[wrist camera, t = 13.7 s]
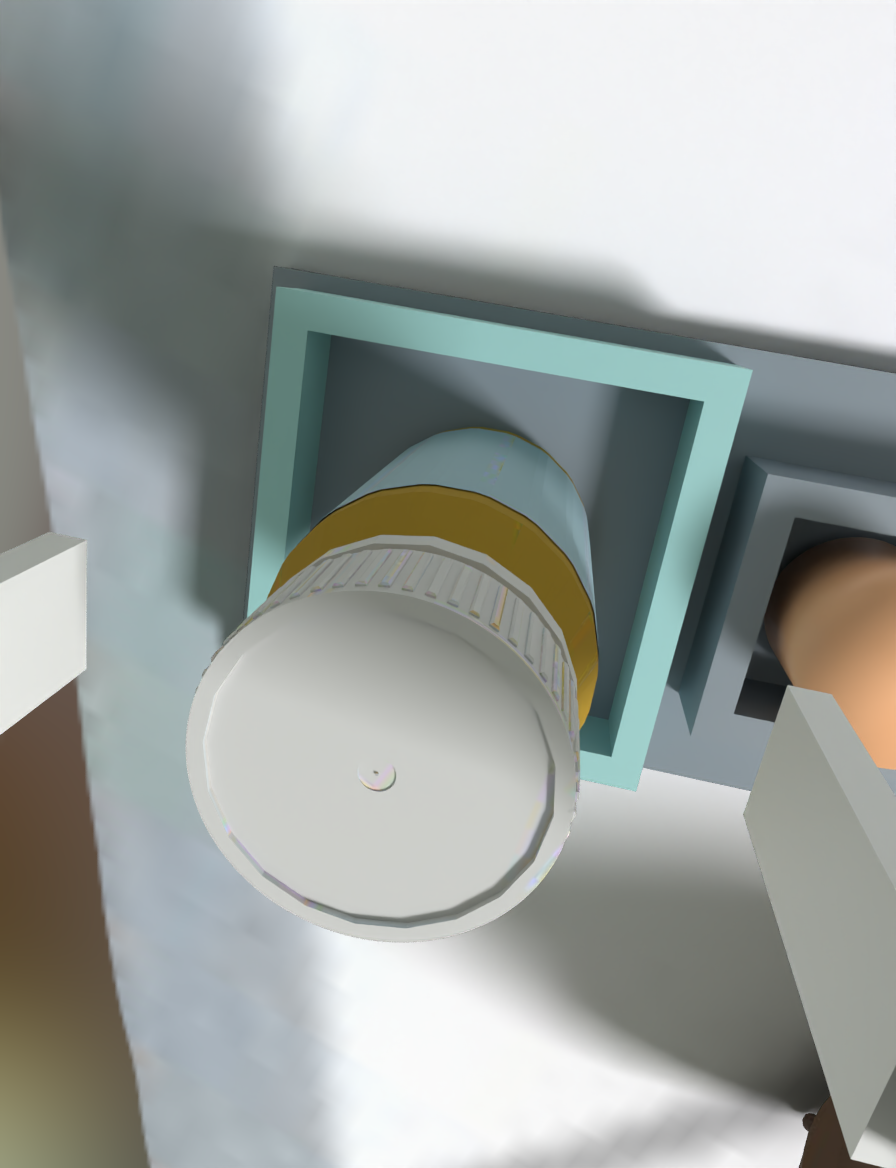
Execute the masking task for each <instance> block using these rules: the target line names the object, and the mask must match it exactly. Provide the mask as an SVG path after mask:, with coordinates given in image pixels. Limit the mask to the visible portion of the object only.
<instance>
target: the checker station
mask: <svg viewBox="0 0 896 1168" xmlns="http://www.w3.org/2000/svg"><path fill="white" fill-rule="evenodd" d="M467 427H485V428H491V429H497V430H503V431H508V432H511V433H514V434H517V435H519V436H521V437H523V438H524V439H526V440H528V441H530V442H532V443H534V444H536V445H538V446H539V447H541V448H542V449H544V450H545V451H546V452H548V453H549V454H550V455H551V456H552V457H553V458H554V459H555V460H556V461H557V463H558V464H559V465H560V466H561V467H562V468H563V469H564V470H565V471H566V472H567V473H568V475H569V476H570V478H571V479H572V481H573V483H574V485H575V487H576V489H577V492H578V494H579V496H580V498H581V500H582V502H583V505H584V508H585V512H586V516H587V522H588V531H589V539H590V550H591V562H592V574H593V586H594V598H595V610H596V622H597V634H598V646H599V657H598V676H597V680H596V685H595V689H594V693H593V697H592V702H591V706H590V710H589V713H588V715H587V718H586V720H585V722H584V724H583V726H582V727H581V729H580V730H579V735H580V779H582V780H586V781H591V782H595V783H600V784H605V785H609V786H614V787H618V788H623V789H627V790H632V791H636V790H637V786H638V782H639V779H640V775H641V772H642V768H647V769H652V770H656V771H661V772H666V773H670V774H675V775H679V776H684V777H689V778H693V779H698V780H702V781H707V782H712V783H716V784H721V785H725V786H730V787H735V788H739V789H744V790H748V791H752V788H753V785H754V782H755V779H756V776H757V773H758V770H759V767H760V764H761V761H762V758H763V755H764V753H765V750H766V747H767V744H768V741H769V738H770V735H771V732H772V729H773V726H774V723H775V720H776V717H777V714H778V711H779V709H780V706H781V703H782V700H783V697H784V694H785V691H786V688H787V685H790V686H793V684H792V682H791V681H790V679H789V677H788V676H787V674H786V672H785V671H784V669H783V667H782V665H781V664H780V662H779V660H778V659H777V657H776V655H775V654H774V652H773V650H772V648H771V646H770V644H769V642H768V639H767V636H766V631H765V626H764V615H765V612H766V609H767V605H768V602H769V599H770V596H771V593H772V589H773V586H774V583H775V580H776V579H777V577H778V576H779V575H780V573H781V572H782V571H783V570H784V568H785V567H786V566H787V565H788V564H789V563H790V562H792V561H793V560H794V559H795V558H796V557H798V556H799V555H800V554H802V553H804V552H805V551H807V550H808V549H810V548H812V547H814V546H817V545H819V544H822V543H824V542H827V541H831V540H835V539H839V538H848V537H864V538H872V539H877V540H881V541H884V542H887V543H889V544H892V545H894V546H896V373H890V372H884V371H879V370H873V369H867V368H861V367H855V366H850V365H844V364H838V363H832V362H827V361H821V360H815V359H809V358H804V357H798V356H792V355H786V354H780V353H775V352H769V351H763V350H757V349H752V348H746V347H740V346H734V345H729V344H723V343H717V342H711V341H705V340H700V339H694V338H688V337H682V336H677V335H671V334H665V333H659V332H654V331H648V330H642V329H636V328H630V327H625V326H619V325H613V324H607V323H602V322H596V321H590V320H584V319H578V318H573V317H567V316H561V315H555V314H550V313H544V312H538V311H532V310H527V309H521V308H515V307H509V306H503V305H498V304H492V303H486V302H480V301H475V300H469V299H463V298H457V297H452V296H446V295H440V294H434V293H428V292H423V291H417V290H411V289H405V288H400V287H394V286H388V285H382V284H377V283H371V282H365V281H359V280H353V279H348V278H342V277H336V276H330V275H325V274H319V273H313V272H307V271H302V270H296V269H290V268H284V267H277V266H274V271H273V282H272V294H271V305H270V317H269V328H268V340H267V351H266V363H265V374H264V386H263V398H262V409H261V421H260V432H259V444H258V455H257V467H256V478H255V490H254V501H253V513H252V524H251V536H250V547H249V559H248V570H247V582H246V594H245V605H244V617H243V621H244V620H246V619H247V618H248V617H249V616H250V615H251V614H252V613H253V612H254V611H255V610H256V609H257V608H258V607H259V606H260V605H261V604H263V603H264V602H265V601H266V600H267V597H268V594H269V592H270V590H271V588H272V586H273V583H274V581H275V579H276V577H277V574H278V572H279V570H280V568H281V566H282V564H283V562H284V561H285V559H286V558H287V556H288V555H289V553H290V552H291V551H292V550H293V549H294V548H295V547H296V546H297V544H298V543H299V542H300V541H301V540H302V539H303V538H304V537H305V536H306V535H307V534H308V533H309V532H310V531H311V530H312V529H313V528H314V527H315V526H316V525H317V524H318V523H319V522H320V521H321V520H322V519H323V518H324V517H325V516H326V515H327V514H329V513H330V512H331V511H332V510H333V509H335V508H336V507H337V506H338V505H340V504H341V503H342V502H343V501H344V500H346V499H347V498H348V497H349V496H350V495H352V494H353V493H354V492H355V491H357V490H358V489H359V488H360V487H361V486H363V485H364V484H365V483H366V482H367V481H369V480H370V479H371V478H372V477H374V476H375V475H376V474H377V473H378V472H380V471H381V470H382V469H383V468H384V467H386V466H387V465H388V464H389V463H391V462H392V461H393V460H394V459H395V458H397V457H398V456H399V455H400V454H401V453H403V452H404V451H405V450H407V449H408V448H410V447H411V446H413V445H415V444H417V443H419V442H421V441H423V440H425V439H427V438H429V437H431V436H433V435H435V434H437V433H440V432H443V431H447V430H454V429H460V428H467ZM878 769H879V771H880V772H881V774H882V775H883V777H884V779H885V780H886V782H887V783H888V785H889V787H890V788H891V790H892V791H893V793H894V795H895V796H896V770H893V769H885V768H878Z"/></svg>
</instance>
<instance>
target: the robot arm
mask: <svg viewBox="0 0 896 1168" xmlns="http://www.w3.org/2000/svg"><path fill="white" fill-rule="evenodd" d="M86 624H87V540H85V539H80V538H75V537H70V536H66V535H61V534H56V533H51V532H48V533H46V534H44V535H42V536H40V537H37V538H35V539H33V540H31V541H28V542H26V543H24V544H22V545H20V546H17V547H15V548H13V549H11V550H9V551H6V552H4V553H2V554H0V734H2V733H3V732H4V731H6V730H7V729H8V728H10V727H11V726H12V725H14V724H15V723H16V722H18V721H19V720H20V719H21V718H23V717H24V716H25V715H27V714H28V713H29V712H31V711H32V710H33V709H35V708H36V707H37V706H39V705H40V704H41V703H42V702H44V701H45V700H46V699H48V698H49V697H50V696H52V695H53V694H54V693H55V692H57V691H58V690H59V689H61V688H62V687H63V686H65V685H66V684H67V683H69V682H70V681H71V680H73V679H74V678H75V677H77V676H78V675H79V674H80V673H82V672H83V671H84V670H86ZM743 815H744V818H745V821H746V825H747V828H748V831H749V834H750V838H751V841H752V844H753V847H754V850H755V854H756V857H757V860H758V863H759V866H760V870H761V873H762V876H763V879H764V882H765V886H766V889H767V892H768V895H769V899H770V902H771V905H772V908H773V911H774V915H775V918H776V921H777V924H778V927H779V931H780V934H781V937H782V940H783V943H784V947H785V950H786V953H787V956H788V960H789V963H790V966H791V969H792V972H793V976H794V979H795V982H796V985H797V988H798V992H799V995H800V998H801V1001H802V1005H803V1008H804V1011H805V1014H806V1017H807V1021H808V1024H809V1027H810V1030H811V1033H812V1037H813V1040H814V1043H815V1046H816V1049H817V1053H818V1056H819V1059H820V1062H821V1066H822V1069H823V1072H824V1075H825V1078H826V1082H827V1085H828V1088H829V1091H830V1094H831V1098H832V1101H833V1104H834V1107H835V1110H836V1114H837V1117H838V1120H839V1123H840V1127H841V1130H842V1133H843V1136H844V1139H845V1143H846V1146H847V1149H848V1152H849V1155H850V1159H852V1160H856V1161H860V1162H864V1163H868V1164H872V1165H876V1166H880V1167H884V1168H896V796H895V795H894V793H893V791H892V790H891V788H890V787H889V785H888V783H887V782H886V780H885V779H884V777H883V775H882V774H881V772H880V771H879V769H878V767H877V766H876V764H875V763H874V761H873V759H872V758H871V756H870V755H869V753H868V751H867V750H866V748H865V747H864V745H863V743H862V742H861V740H860V739H859V737H858V735H857V734H856V732H855V731H854V729H853V727H852V726H851V724H850V723H849V721H848V719H847V718H846V716H845V715H844V713H843V711H842V710H841V708H840V707H839V705H838V703H837V702H836V700H835V699H834V697H833V695H832V694H828V693H824V692H819V691H814V690H809V689H804V688H799V687H795V686H790V685H787V688H786V691H785V694H784V697H783V700H782V703H781V706H780V709H779V711H778V714H777V717H776V720H775V723H774V726H773V729H772V732H771V735H770V738H769V741H768V744H767V747H766V750H765V753H764V755H763V758H762V761H761V764H760V767H759V770H758V773H757V776H756V779H755V782H754V785H753V788H752V791H751V794H750V797H749V799H748V802H747V805H746V808H745V811H744V814H743Z"/></svg>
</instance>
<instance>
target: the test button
mask: <svg viewBox="0 0 896 1168" xmlns="http://www.w3.org/2000/svg"><path fill="white" fill-rule="evenodd" d="M764 626H765V631H766V636H767V639H768V642H769V644H770V646H771V648H772V650H773V652H774V654H775V655H776V657H777V659H778V660H779V662H780V664H781V665H782V667H783V669H784V671H785V672H786V674H787V676H788V677H789V679H790V681H791V682H792V684H793V686H795V687H799V688H804V689H809V690H814V691H819V692H824V693H828V694H832V695H833V697H834V699H835V700H836V702H837V703H838V705H839V707H840V708H841V710H842V711H843V713H844V715H845V716H846V718H847V719H848V721H849V723H850V724H851V726H852V727H853V729H854V731H855V732H856V734H857V735H858V737H859V739H860V740H861V742H862V743H863V745H864V747H865V748H866V750H867V751H868V753H869V755H870V756H871V758H872V759H873V761H874V763H875V764H876V766H877V767H878V768H885V769H893V770H896V546H894V545H892V544H889V543H887V542H884V541H881V540H877V539H872V538H864V537H848V538H839V539H835V540H831V541H827V542H824V543H822V544H819V545H817V546H814V547H812V548H810V549H808V550H807V551H805V552H804V553H802V554H800V555H799V556H798V557H796V558H795V559H794V560H793V561H792V562H790V563H789V564H788V565H787V566H786V567H785V568H784V570H783V571H782V572H781V573H780V575H779V576H778V577H777V579H776V580H775V583H774V586H773V589H772V593H771V596H770V599H769V602H768V605H767V609H766V612H765V615H764Z"/></svg>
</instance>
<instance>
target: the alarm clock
mask: <svg viewBox="0 0 896 1168" xmlns="http://www.w3.org/2000/svg"><path fill="white" fill-rule="evenodd" d="M803 1126H804V1128H805V1129H806V1130H807V1131H809V1132H808V1136H807V1140H806V1144H805V1147H804V1152H803V1156H802V1159H801V1162H800V1165H799V1168H884V1167H880V1166H876V1165H872V1164H868V1163H864V1162H860V1161H856V1160H852V1159H850V1155H849V1152H848V1149H847V1146H846V1143H845V1139H844V1136H843V1133H842V1130H841V1127H840V1123H839V1120H838V1117H837V1114H836V1110H835V1107H834V1104H833V1101H832V1098H831V1095H830V1097H829V1098H828V1099H827V1100H826V1101H825V1102H824V1104H823V1105H822V1107H821V1108H820V1110H819V1112H818V1113H817V1115H815V1114H812V1113H808V1114H806V1115H805V1116H804V1118H803Z"/></svg>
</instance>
